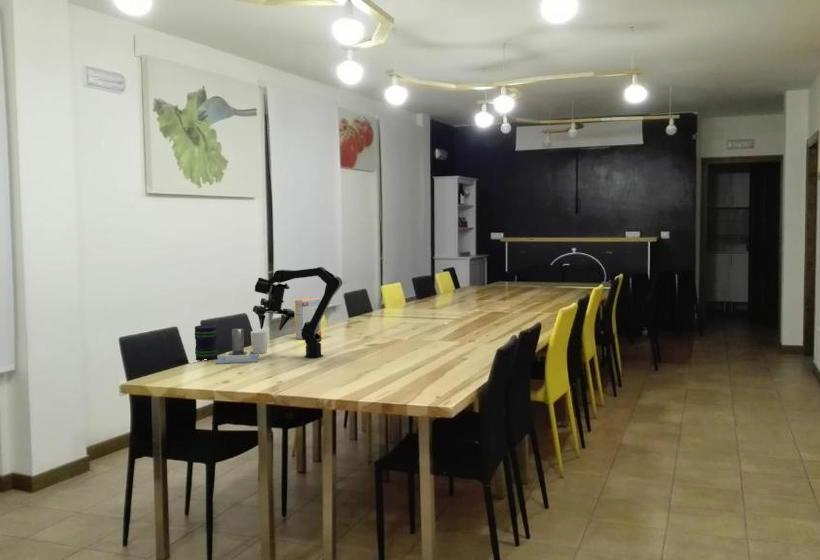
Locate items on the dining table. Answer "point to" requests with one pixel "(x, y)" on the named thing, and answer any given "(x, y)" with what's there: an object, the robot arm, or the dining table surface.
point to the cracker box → (305, 314)
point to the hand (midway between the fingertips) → (270, 329)
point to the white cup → (259, 341)
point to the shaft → (237, 342)
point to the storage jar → (206, 342)
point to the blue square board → (237, 358)
